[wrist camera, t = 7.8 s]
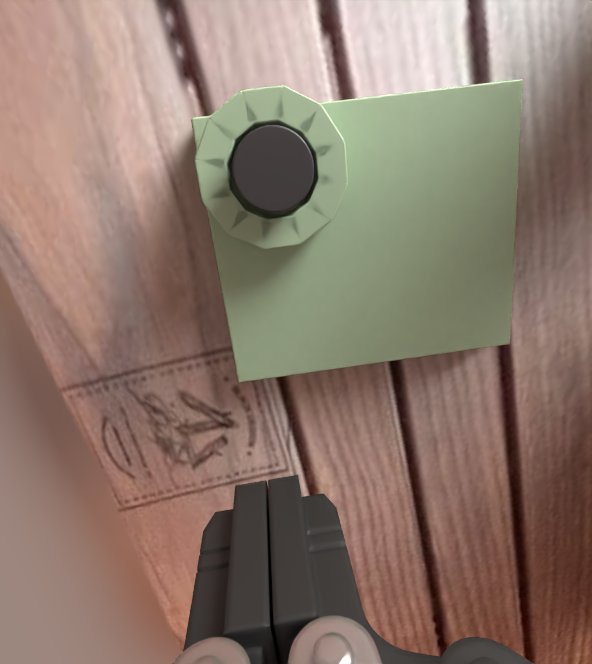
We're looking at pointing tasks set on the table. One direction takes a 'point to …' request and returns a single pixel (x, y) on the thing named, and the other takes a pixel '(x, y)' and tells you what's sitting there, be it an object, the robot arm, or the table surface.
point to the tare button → (273, 168)
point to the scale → (368, 228)
